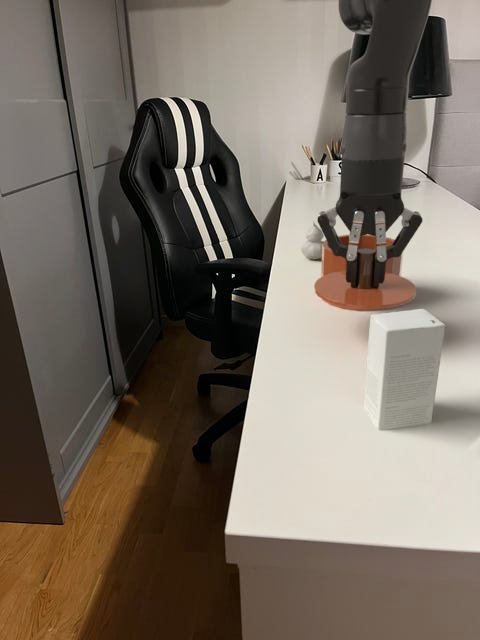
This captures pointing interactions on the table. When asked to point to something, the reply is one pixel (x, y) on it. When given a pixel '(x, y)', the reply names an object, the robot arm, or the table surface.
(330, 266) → the jar
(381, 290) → the jar lid
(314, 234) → the white lumpy pointed piece
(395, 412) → the cosmetic box
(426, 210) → the table surface
